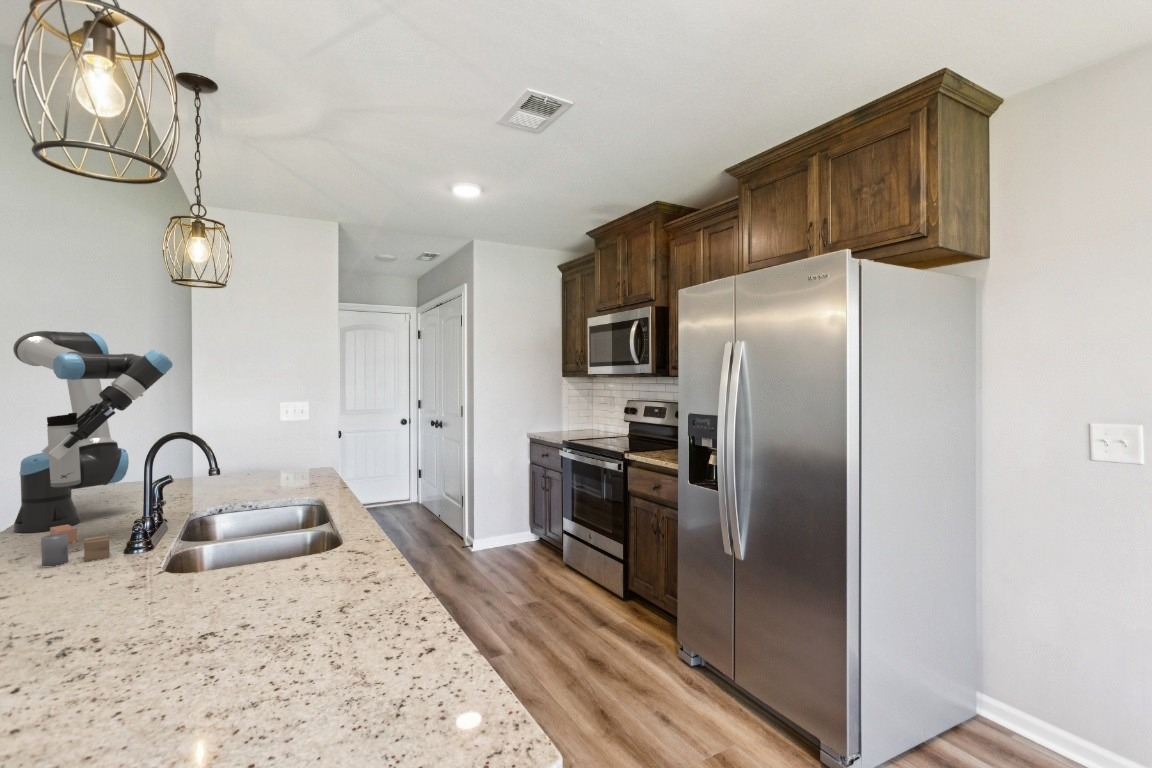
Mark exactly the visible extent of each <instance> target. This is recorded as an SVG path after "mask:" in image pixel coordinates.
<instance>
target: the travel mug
mask: <svg viewBox="0 0 1152 768" xmlns="http://www.w3.org/2000/svg"><path fill="white" fill-rule="evenodd" d="M46 422H47V423H46V427H47V428H46V429H47V446H48V449H49V452H50V451H52V450H53V449H54V448H55V447H56V446H57V445H59V444H60V443H61V442H62V441H63V440H64V439H65V438H67V437H68V436H69V435H72V434H70V432H72V431H74V432H75V431H76V430H77V429H78V427H77V426H78V424H77V413H73V412H68V414H61V415H53V416H47V417H46ZM72 436H73V435H72ZM49 465H50V480H51V487H66V486H73V485H77V484H80V483H81V478H80V477H81V475H80V457H79V442H78V443H77V444H76V445H75V446H74V447H73V448H71V449H70V450H69V451H68V452H67V453H66V454H65V455H63V456H62V457H61V458H60V459H59V460H58V459H57V458H55V457H53V456H52V455H50V454H49Z"/></svg>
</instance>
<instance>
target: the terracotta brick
mask: <svg viewBox="0 0 1152 768" xmlns="http://www.w3.org/2000/svg"><path fill="white" fill-rule="evenodd" d="M49 531H50V533H49V535H55V534H68V544H70V543H69V542H74V541H77V542H78V529H77V527H74V526H73V525H72V526H70V525H68V524H67V525H62V526H56V527H50V530H49ZM74 543H75V542H74Z"/></svg>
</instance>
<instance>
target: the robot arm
mask: <svg viewBox="0 0 1152 768" xmlns="http://www.w3.org/2000/svg"><path fill="white" fill-rule="evenodd" d="M12 349H13V353H14V356H15V357H16V359H17V360H19V361H20V362H22V363H24V364H26V365H29V366H32V367H33V366H34V367H43V368H46V369H50V370H53V373H54V375H55V376H56V378H57V379H59V380H66V384H67V389H68V394H69V400H70V406H71V413H77V424H78V426H77V427H78V429H77V430H76V431H75V432H74V431H72V432H70V434H72V435H73V436H72V435H69V436H68V437H67V438H65V439H64V440H63V441H62V442H61V443H60V444H59V445H57V446H56V447H55V448H54V449H53V450H52V451H50V452H49V449H48V445H46V446H45V447H44V448H43V449H41V452H39V453H35V454H31V455H29V456H28V455H27V456H26V457H24V458H23V459H22V460H21V461H20V468H19V469H20V470H19V476H20V497H21V498H20V499H21V500H20V501H21V504H20V508H19V509H18V512H17V516H16V518H15V519H14V523H13V531H14V532H16V533H20V534H21V533H24V534H25V533H39V532H47V531H50V527H56V526H62V525H67V524H68V525H70V526H72V527H73V526H74V525H75V526H76V525H77V524H78V523H80V514H79V512H78V509H77V508H76V506H75V503H74V502H73V498H72V490H79V489H84V488H85V489H86V488H91V487H97V486H98V487H99V486H107V485H110V484H116V483H119V482H121V481H122V480H124V478H125V477H126V475H127V472H128V470H129V464H130V463H129V454H128V452H127V450H126V449H125V448H122V447H119V444H118V442H117V441H116V440H114V439H112V438H111V433H110V427H109V423H108V422H109V421H108V419H110V418H111V417H112V416H114V415H115V414H116V411H115V409H116V410H118V411H125V410H126V409H127V408H128V407H129V406H131V404H133V401H136V400H137V399H139V397H141V398H142V397H143V396H144V394H143V393H145V392H146V391H147V390H148V389H149V388H151V387H152V386H153V385H154V384H155V383H157V381H158V380H160V379H161V378H162V377H163V376H165V375H166V374H167V373H168V372H169V371H170V370H171V369H172V368H173V366H174V365H173V361H172V360H171V359H170V358H169V357H168V356H167V355H166V354H164V353H163V352H160V351H159V350H156V349H151V350H149V351H148V352H145V353H144V355H138V354H134V353H120V354H118V353H117V354H112V353H111V354H110V351H109V348H108V344H107V342H106V341H105V339H104V338H103V337H102V336H100V335H99V334H97V333H93V332H92V333H91V332H85V331H80V332H77V331H75V332H73V331H54V330H53V331H51V330H50V331H49V330H39V331H38V330H37V331H33V332H32V331H31V332H30V333H26V334H24V335H22V336H20V337H19V338H17V340H16V341H15V343H14V345H13V347H12ZM101 380H113V381H112V382H110V385H107V386H106V387H105V388H104V389H102V388H103V387H102V382H101ZM78 442H79V457H80V475H81V477H80V478H81V483H80V484H77V485H73V486H66V487H51V480H50V465H49V454H50V455H52V456H53V457H55V458H57V459H58V460H59V459H60V458H61V457H62V456H63V455H65V454H66V453H67V452H68V451H69V450H70V449H71V448H73V447H74V446H75V445H76V444H77V443H78Z"/></svg>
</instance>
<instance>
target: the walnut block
mask: <svg viewBox="0 0 1152 768" xmlns="http://www.w3.org/2000/svg"><path fill="white" fill-rule="evenodd" d="M83 551H84V554H83V555H84V563H87V562H86V561H88V562H93V561H92V560H94V561H99V560H98V559H100V560H105V559H104V558H106V559H110V558H109V557H111V556H110V554H111V552H110V535H109V534H108V535H100V536H95V537H89V538H84V541H83Z"/></svg>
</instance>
